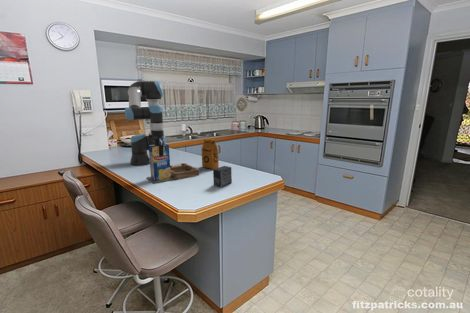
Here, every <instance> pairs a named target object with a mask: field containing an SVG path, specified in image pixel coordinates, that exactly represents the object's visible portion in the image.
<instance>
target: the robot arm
mask: <svg viewBox="0 0 470 313" xmlns="http://www.w3.org/2000/svg"><path fill="white" fill-rule="evenodd" d="M163 94H164V93H163V88H162V84H161V82H160V81H155V80H154V81H153V80H151V81H149V80H147V81H145V80H138V81H134V82H133V83H131V84H130V85H129V87H128V89H127V95H128V107H125V108H124V116H125V119H126V120H128V121H129V120H130V121H134V120H136V121H139V120H149V132H148V135H147V134H145V133H140V134H135V135H132V136H131V137H130V146H131V147H130V148H131V149H130V150H131V157H130V165H131V166H144V165H150V158H149V154H148V151H149V146H148V145H156V146H159V156H164V152H163V144H166V135H165V132H164V118H163V108H162V107H163V106H162V105H161V104H160V101H161V100H162V98H163V97H164V95H163ZM142 97H143V98H144V97H145V101H147V105H148V107H142V103H141V102H142V101H141V100H142V99H141V98H142Z"/></svg>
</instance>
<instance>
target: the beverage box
mask: <svg viewBox="0 0 470 313" xmlns="http://www.w3.org/2000/svg"><path fill="white" fill-rule="evenodd" d="M148 146H149V150H148V153H149V154H148V156H149V159H150V163H149V170H150V177H151V179H153V180H154V181H157V180H162V179H167V178H171V172H170V165H171V158H170V157H171V156H170V145H169V144H166V143H165V144H163V152H164V156H159V146H156V145H148Z"/></svg>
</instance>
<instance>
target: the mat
mask: <svg viewBox="0 0 470 313" xmlns="http://www.w3.org/2000/svg"><path fill="white" fill-rule="evenodd" d="M146 179H147V180H148V181H149V182H150V183H152V184H154V185H155V184H160V183H161V184H162V183H165V182H171V181H176V179H175V178H173V177H171V178H167V179H162V180H157V181H154V180H153V179H151V176H146Z"/></svg>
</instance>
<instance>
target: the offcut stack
mask: <svg viewBox="0 0 470 313" xmlns="http://www.w3.org/2000/svg"><path fill="white" fill-rule="evenodd" d="M177 164H178V165H176V164H170V165H171V168H173V167H179V166H182V165H181V164H182V163H177Z"/></svg>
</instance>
